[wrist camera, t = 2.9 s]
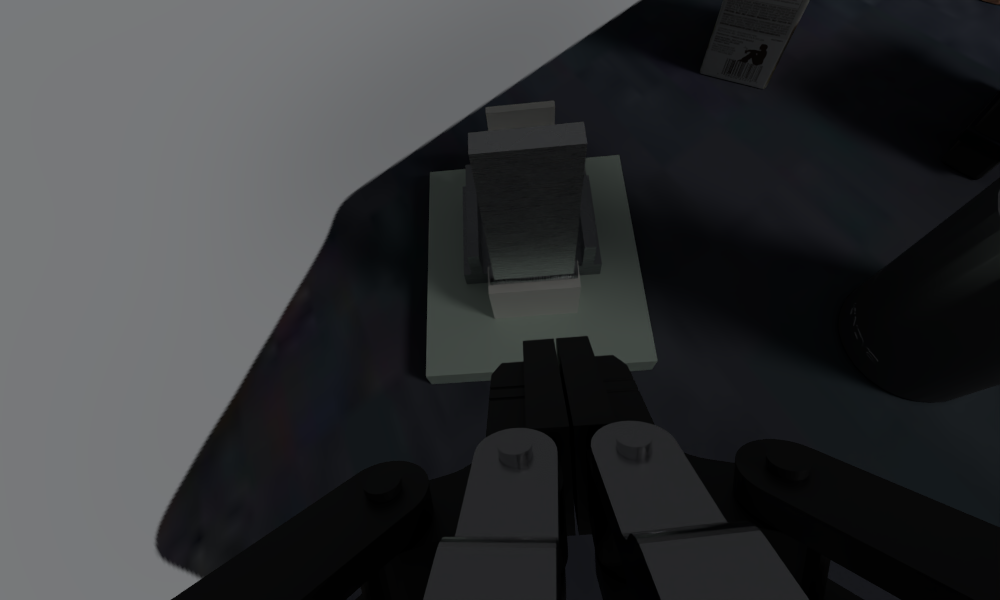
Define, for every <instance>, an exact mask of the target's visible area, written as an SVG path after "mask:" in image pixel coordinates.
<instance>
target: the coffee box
mask: <svg viewBox="0 0 1000 600" xmlns="http://www.w3.org/2000/svg"><path fill="white" fill-rule="evenodd" d="M809 1H810V0H723V3H722V6H721V9H720V12H719V15H718V18H717V21H716V24H715V27H714V30H713V33H712V36H711V39H710V42H709V45H708V48H707V51H706V54H705V57H704V60H703V63H702V66H701V69H700V73H701V74H704V75H708V76H712V77H716V78H721V79H725V80H728V81H732V82H737V83H741V84H744V85H748V86H753V87H756V88H760V89H764V88H766V86H767V84H768V82H769V80H770V78H771V76H772V74H773V72H774V70H775V68H776V66H777V64H778V62H779V60H780V58H781V56H782V54H783V52H784V50H785V48H786V46H787V44H788V42H789V40H790V38H791V36H792V35H793V33H794V31H795V29H796V27H797V25H798V23H799V21H800V19H801V17H802V15H803V13H804V11H805V9H806V7H807V5H808V3H809Z"/></svg>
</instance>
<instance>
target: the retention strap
mask: <svg viewBox="0 0 1000 600" xmlns="http://www.w3.org/2000/svg"><path fill="white" fill-rule="evenodd" d="M586 150H587V139H586V133H585V126H584V122H577V123H566V124H556V125H545V126H535V127H524V128H514V129H503V130H493V131H482V132H472V133H468V155H469V159H470V164H471V169H472V174H473V179H474V184H475V188H476V193H477V198H478V203H479V208H480V213H481V217H482V222H483V227H484V232H485V237H486V242H487V247H488V251H489V256H490V261H491V264H489V279H490V285H501V284H514V283H527V282H540V281H553V280H566V279H578V262H577V257H575V255H576V245H577V235H578V226H579V216H580V207H581V197H582V188H583V178H584V169H585V159H586Z"/></svg>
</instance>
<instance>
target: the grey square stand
mask: <svg viewBox="0 0 1000 600" xmlns="http://www.w3.org/2000/svg"><path fill="white" fill-rule="evenodd" d="M486 118H487V125H488V131H493V130H503V129H514V128H524V127H535V126H545V125H555V103H554V101H545V102H535V103H525V104H515V105H505V106H494V107H486ZM585 171H586V175H589V181H590V188H591V194H592V201H593V208H594V214H595V221H596V228H597V234H598V241H599V248H600V255H601V261H602V266H601V271H600V274H592V275H579V267H578V279H566V280H553V281H540V282H527V283H514V284H501V285H490V279H489V267H488V283H477V284H467V283H466V280H465V277H464V250H463V186H466V170H465V169H460V170H449V171H438V172H430V196H429V247H428V298H427V350H426V377H427V379H428V380H429V381H430V382H431V384H443V383H458V382H473V381H488V380H491V375H492V373H493V372H494V371H495V370H496V369H497V368H498V366H499V365H500V364H501V363H509V362H522V361H523V341H526V340H540V339H553V338H554V343H555V349H556V338H565V337H579V336H588V338H589V341H590V344H591V347H592V350H593V353H594V356H604V355H614V356H615V357H617V358H618V359H620V360H621V361H622V362H624V363H625V364H627V366H628V368H629V370H630V371H638V370H652V369H653V367H654V366H655V364H656V362H657V356H656V351H655V345H654V340H653V334H652V329H651V324H650V318H649V313H648V308H647V302H646V297H645V291H644V286H643V281H642V275H641V270H640V265H639V259H638V254H637V248H636V243H635V238H634V232H633V227H632V222H631V216H630V211H629V206H628V200H627V195H626V189H625V184H624V179H623V173H622V168H621V163H620V157H619V155H613V156H602V157H591V158H586V159H585ZM577 262H578V260H577ZM556 354H557V353H556Z"/></svg>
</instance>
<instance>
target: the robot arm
mask: <svg viewBox="0 0 1000 600" xmlns="http://www.w3.org/2000/svg"><path fill="white" fill-rule="evenodd" d="M839 333H840V337H841V342H842V344H843V346H844V348H845V350H846V352H847V355H848V356H849V358H850V359H851V360H852V362H853V363H854V364H855V366H856V367H857V368H858V369H859V370H860V371H861V372H862V373H863V374H864V375H865V376H866V377H867V378H868V379H869V380H871V381H872V382H874V383H875V384H877V385H878V386H879V387H881V388H882V389H884V390H886V391H888V392H890V393H892V394H895V395H897V396H899V397H903V398H906V399H909V400H912V401H919V402H927V403H934V402H946V401H949V400H952V399H956V398H959V397H962V396H965V395H968V394H971V393H975V392H978V391H981V390H984V389H987V388H990V387H994V386H997V385H1000V178H998V179H997V180H996V181H994V182H993V183H992V184H991V185H989V186H988V187H987V188H985V189H984V190H983V191H982V192H980V193H979V194H978V195H976V196H975V197H974V198H973V199H971V200H970V201H969V202H968V203H966V204H965V205H964V206H962V207H961V208H960V209H959V210H957V211H956V212H955V213H953V214H952V215H951V216H950V217H948V218H947V219H946V220H944V221H943V222H942V223H941V224H939V225H938V226H937V227H935V228H934V229H933V230H932V231H930V232H929V233H928V234H927V235H925V236H924V237H923V238H921V239H920V240H919V241H918V242H916V243H915V244H914V245H912V246H911V247H910V248H909V249H907V250H906V251H905V252H903V253H902V254H901V255H900V256H898V257H897V258H896V259H894V260H893V261H892V262H891V263H889V264H888V265H887V266H885V267H884V268H883V269H881V270H880V271H879V272H878V273H876V274H875V275H874V276H872V277H871V278H870V279H869V280H867V281H866V282H865V283H864V284H862V285H861V286H860V287H858V288H857V289H856V290H855V291H854V292H853V293H852V294H850V295H849V296H848V297H847V299H846V301H845V302H844V304H843V305H842V308H841V311H840V315H839ZM556 353H557V354H556ZM573 499H574V501H573ZM574 506H575V512H576V518H577V525H578V531H579V535H586V534H592V535H593V541H594V546H595V566H596V575H597V579H598V583H599V587H600V591H601V594H602V598H603V600H864V599H862V598H860V597H859V596H857V595H855V594H853V593H852V592H850V591H848V590H847V589H845V588H843V587H842V586H840V585H838V584H837V583H835V582H833V581H832V580H830V579H828V578H827V577H828V572H829V566H830V560H832V561H834V562H836V563H838V564H839V565H841V566H843V567H845V568H846V569H848V570H850V571H852V572H853V573H855V574H857V575H859V576H861V577H862V578H864V579H866V580H868V581H869V582H871V583H873V584H875V585H876V586H878V587H880V588H882V589H883V590H885V591H887V592H889V593H891V594H892V595H894V596H896V597H898V598H899V599H901V600H1000V527H997V526H995V525H992V524H990V523H988V522H985V521H983V520H981V519H978V518H976V517H973V516H971V515H969V514H966V513H964V512H962V511H959V510H957V509H954V508H952V507H950V506H947V505H945V504H942V503H940V502H938V501H935V500H933V499H931V498H928V497H926V496H923V495H921V494H919V493H916V492H914V491H912V490H909V489H907V488H904V487H902V486H900V485H897V484H895V483H893V482H890V481H888V480H885V479H883V478H881V477H878V476H876V475H874V474H871V473H869V472H866V471H864V470H862V469H859V468H857V467H855V466H852V465H850V464H847V463H845V462H843V461H840V460H838V459H835V458H833V457H831V456H828V455H826V454H824V453H821V452H819V451H816V450H814V449H812V448H809V447H807V446H804V445H801V444H798V443H794V442H790V441H785V440H777V439H763V440H756V441H752V442H749V443H747V444H745V445H743V446H742V447H741V448H740V449H739V450H738V452H737V453H736V458H735V463H730V462H724V461H717V460H710V459H705V458H699V457H696V456H692V455H689V454H686V453H684V452H683V451H682V450H681V448H680V447H679V445H678V443H677V442H676V440H675V439H674V438H673V436H672V435H670V434H669V433H668V432H667V431H665V430H664V429H662V428H660V427H658V426H655V425H654V422H653V420H652V418H651V416H650V414H649V412H648V409H647V407H646V405H645V403H644V401H643V398H642V396H641V394H640V392H639V391H638V387H637V385H636V383H635V381H634V380H633V376H632V374H631V372H630V370H629V368H628V366H627V364H625V363H624V362H622V361H621V360H620V359H618V358H617V357H615V356H614V355H604V356H594V353H593V350H592V347H591V344H590V341H589V338H588V336H579V337H565V338H556V349H555V343H554V338H553V339H540V340H526V341H523V361H522V362H509V363H501V364H500V365H499V366H498V368H497V369H496V370H495V371H494V372H493V373H492V375H491V385H490V397H489V408H488V419H487V431H486V438H485V439H484V440H482V441H481V443H480V444H479V445H478V446H477V448H476V450H475V453H474V457H473V461H472V463H471V464H470V465H469V466H467V467H465V468H464V469H462V470H459V471H457V472H455V473H452V474H449V475H446V476H442V477H439V478H436V479H432V480H428V476H427V474H426V472H425V471H424V470H423V469H422V468H421V467H420V466H418V465H416V464H414V463H410V462H406V461H390V462H384V463H380V464H377V465H374V466H371V467H369V468H367V469H364V470H363V471H361V472H359V473H358V474H356V475H355V476H353V477H352V478H350V479H349V480H347V481H346V482H344V483H343V484H341V485H340V486H339V487H337V488H336V489H334V490H333V491H331V492H330V493H328V494H327V495H325V496H324V497H322V498H321V499H319V500H318V501H316V502H315V503H313V504H312V505H310V506H309V507H307V508H306V509H305V510H303V511H302V512H300V513H299V514H297V515H296V516H294V517H293V518H291V519H290V520H288V521H287V522H285V523H284V524H282V525H281V526H279V527H278V528H276V529H275V530H273V531H272V532H270V533H269V534H268V535H266V536H265V537H263V538H262V539H260V540H259V541H257V542H256V543H254V544H253V545H251V546H250V547H248V548H247V549H245V550H244V551H242V552H241V553H239V554H238V555H236V556H235V557H234V558H232V559H231V560H229V561H228V562H226V563H225V564H223V565H222V566H220V567H219V568H217V569H216V570H214V571H213V572H211V573H210V574H208V575H207V576H205V577H204V578H202V579H201V580H200V581H198V582H197V583H195V584H194V585H192V586H191V587H189V588H188V589H186V590H185V591H183V592H182V593H180V594H179V595H178V596H176V597H175V598H173V599H171V600H346V599H347V598H348V597H349V596H350V595H352V594H353V593H354V592H355V591H356V590H357V589H358V588H360V587H361V591H362V594H361V595H360V596H359V597H358V598H357V599H356V600H566V574H565V566H566V563H567V559H568V545H567V536H571V535H575V519H574Z"/></svg>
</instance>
